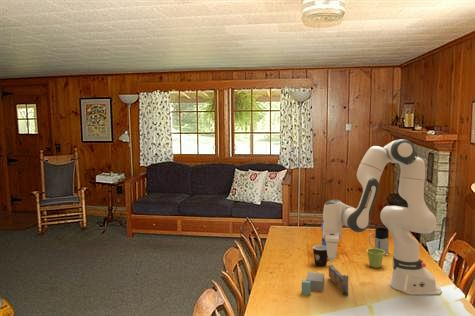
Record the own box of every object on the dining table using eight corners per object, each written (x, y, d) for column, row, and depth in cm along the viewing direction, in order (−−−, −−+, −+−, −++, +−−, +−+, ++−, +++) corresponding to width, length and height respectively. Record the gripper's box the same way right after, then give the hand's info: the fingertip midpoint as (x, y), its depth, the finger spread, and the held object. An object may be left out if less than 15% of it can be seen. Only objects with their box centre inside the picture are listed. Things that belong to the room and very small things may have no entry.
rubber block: (324, 283, 192) (324, 273, 192) (322, 291, 183) (322, 281, 182) (308, 281, 195) (308, 272, 194) (305, 289, 185) (305, 279, 185)
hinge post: (347, 293, 180) (348, 275, 179) (348, 296, 177) (348, 277, 176) (342, 293, 180) (342, 274, 179) (342, 295, 178) (343, 276, 177)
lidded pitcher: (392, 254, 231) (392, 230, 230) (373, 257, 226) (374, 233, 225) (382, 250, 240) (382, 226, 238) (363, 253, 234) (364, 229, 233)
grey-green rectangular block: (310, 293, 181) (310, 280, 180) (310, 295, 179) (310, 282, 178) (301, 292, 182) (301, 280, 181) (301, 294, 180) (301, 282, 179)
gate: (346, 291, 180) (346, 279, 180) (342, 291, 180) (342, 279, 180) (332, 276, 198) (332, 265, 198) (328, 276, 198) (328, 265, 197)
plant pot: (385, 269, 208) (386, 254, 207) (367, 268, 210) (367, 253, 209) (382, 263, 217) (383, 248, 216) (365, 262, 219) (365, 247, 218)
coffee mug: (309, 263, 219) (310, 246, 218) (322, 261, 222) (322, 244, 221) (321, 270, 208) (321, 252, 207) (334, 268, 211) (334, 250, 210)
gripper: (325, 227, 195) (324, 254, 196) (325, 238, 176) (324, 268, 177) (338, 228, 194) (337, 255, 195) (339, 239, 174) (338, 269, 175)
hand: (331, 261), depth 186 cm, fingers closed
